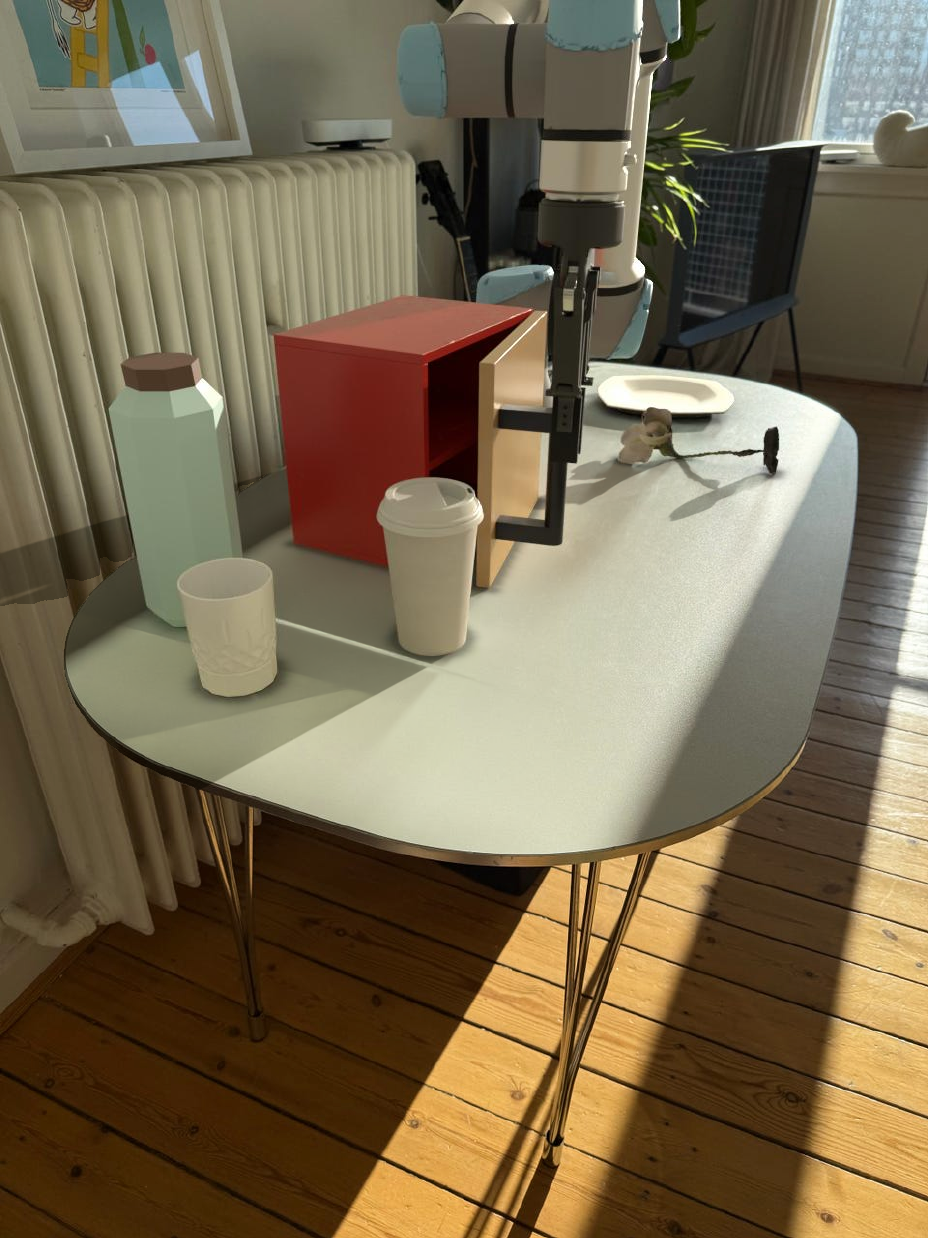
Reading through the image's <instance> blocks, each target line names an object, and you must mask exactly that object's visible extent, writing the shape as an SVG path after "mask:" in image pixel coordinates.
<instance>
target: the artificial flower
mask: <svg viewBox="0 0 928 1238" xmlns="http://www.w3.org/2000/svg"><path fill="white" fill-rule="evenodd" d="M645 411H646V412H645ZM645 411H644V413H643V415H641V421H642V422H640V423H631V425H630V426H629V427H628V428H626V429H624V431H623V432H622V435H621V437H620V443H621V445H622V446H624V447H623V448H621V449H620V451H619V452H618V461H619V463H623V464H629V465H633V464H636V463H641V464H646V463H648V462H649V460H650V458H651V457H652V455H653V452H654V450H658V451H659V452H660V455H662V456H663V457H669V458H676V459H693V458H702V457H706V456H712V455H713V456H714V455H715V456H718V455H721V456H724V455H732V456H737V457H739V458H741V457H747V456H749V457H750V456H753V455H755V454H759V453H762V455H763V456H762V457H763V458H762V461H763V462H762V463H763V466H765V467H766V469H767V471H768V473H769V474H770V475H776V474H777V470H778V466H779V459H778V458H777V456H778V454H779V450H780V433H779V428H778V426H773V427H768V428H767V429H766V430H765V432H764V436H763V449H751V448H748V449H742V450H740V451H737V450H734V451H732V450H718V451H711V452H709V451H707V452H700V453H697V454H696V453H694V454H686V455H685V454H684V455H681V454H679V453H678V452H677V451H676V449H675V448H674V447H675V446H674V443H673V432H674V429H673V427H672V425H673V423H672V422H673V419H672V417H671V412H670V411H669V410H668V409H659V408H655V407H648V408H647V409H646V410H645ZM643 417H644V418H643Z"/></svg>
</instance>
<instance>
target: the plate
mask: <svg viewBox="0 0 928 1238" xmlns="http://www.w3.org/2000/svg"><path fill="white" fill-rule="evenodd" d="M596 391H597V392H596V394H597V397H599V399H600V400H601V402H602V403H603V404H604V405H605V406H606V407H607V408H611V409H618V411H620V412H622V413H624V414H631V415H637V416H642V415H643V413H644V411H645V410H646V409H647V408H648V407H655V408H659V409H668V410H669V411H670V412H671V418H679V419H681V418H689V419H691V418H707V417H709V416H711V415H724V414H725V413H726V412H727V411H728V410H729V409H730V407H731V406H732V405H733V403H734V400H735V397H734V395H733V394H732V392H731V391H730V390H728V389H727V388H726V386H723V385H722V384H721V383H719V382H718V381H717V380H716V381H715V380H709V379H701V378H692V377H683V376H671V375H612V376H610V377H609V378H607V379H606V380H604V381H603V382H602V383H601V384H599V385H598V387H597V389H596ZM645 412H646V411H645ZM643 416H644V415H643Z"/></svg>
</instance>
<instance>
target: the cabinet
mask: <svg viewBox="0 0 928 1238" xmlns="http://www.w3.org/2000/svg"><path fill="white" fill-rule="evenodd" d="M532 313H533V309H531V308H522V307H512V306H503V305H493V304H484V303H476V302H473V301H465V300H455V299H446V298H437V297H435V298H434V297H424V296H417V295H416V296H415V295H407V294H403V295H398V296H396V297H392V298H389V299H385V300H382V301H379V302H376V303H373V304H369V305H366V306H362V307H360V308H356V309H353V310H349V311H346V312H343V313H340V314H336V315H333V316H330V317H326V318H323V319H320V320H317V321H313V322H310V323H307V324H303V325H301V326H297V327H294V328H290V329H286V330H284V331H281V332H277V333H274V334H273V335H272V336H273V346H274V356H275V357H274V358H275V366H276V377H277V387H278V396H279V408H280V417H281V418H280V419H281V428H282V437H283V448H284V459H285V460H284V461H285V468H286V480H287V489H288V500H289V510H290V511H289V512H290V519H291V520H290V521H291V531H292V539H293V544H294V545H297V546H301V547H306V548H310V549H314V550H318V551H321V552H325V553H330V554H334V555H336V556H337V555H338V556H342V557H346V558H350V559H353V560H357V561H362V562H366V563H370V564H374V565H378V566H381V567H384V568H385V567H386V568H389V565H388V558H387V551H386V544H385V537H384V530H383V526H382V525H381V524H380V523H379V522H378V520H377V512H378V508H379V506H380V503H381V501H382V500H383V499H384V497H385V493H386V491H387V489H388V488H389V487H391V486H392V485H394V484H396V483H399V482H401V481H405V480H409V479H415V478H427V477H435V478H447V479H452V480H456V481H460V482H462V483H465V484H467V485H468V486H470V487H471V488H472V489H473V490H474V493H475V497H476V498H477V494H478V419H479V363H480V362H481V361H482V360H483V359H484V358H485V357H486V356H487V355H488V354H489V353H490V352H492V351H493V350H494V349H495V348H496V347H497V346H498V345H499V344H500V343H501V342H502V341H503V340H504V339H505V338H506V337H508V336H509V335H510V334H511V333H512V332H513V331H514V330H515V329H516V328H517V327H518V326H519V325H520V324H521V323H522V322H524V321H525V320H526V319H527V318H528V317H529V316H530V315H531V314H532ZM476 538H477V535H476Z"/></svg>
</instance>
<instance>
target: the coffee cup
mask: <svg viewBox="0 0 928 1238" xmlns="http://www.w3.org/2000/svg"><path fill="white" fill-rule="evenodd" d="M483 517H484V514H483V511H482V507H481V505H480V502H479V501H478V499H477V498H476V497H475V493H474V490H473V489H472V488H471V487H470V486H468V485H467V484H465V483H462V482H460V481H456V480H452V479H447V478H435V477H427V478H415V479H409V480H405V481H401V482H399V483H396V484H394V485H392V486H391V487H389V488H388V489H387V491H386V493H385V497H384V499H383V500H382V501H381V503H380V506H379V508H378V512H377V520H378V522H379V523H380V524H381V525H382V526H383V530H384V537H385V544H386V551H387V558H388V565H389V567H388V572H389V579H390V586H391V594H392V601H393V602H392V603H393V608H394V609H393V610H394V616H395V623H396V632H397V638H398V643H399V645H400V646H401V647H402V648H403V649H404V650H405V651H407V652H410V653H412V654H415V655H419V656H425V657H426V656H427V657H437V656H443V655H448V654H451V653H454V652H456V651H458V650H460V649H462V647H463V646H464V645H465V643H466V640H467V630H468V622H469V610H470V602H471V590H472V583H473V572H474V561H475V553H476V545H477V537H476V535H477V527H478V525H479V524H480V523H481V522H482V520H483Z"/></svg>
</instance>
